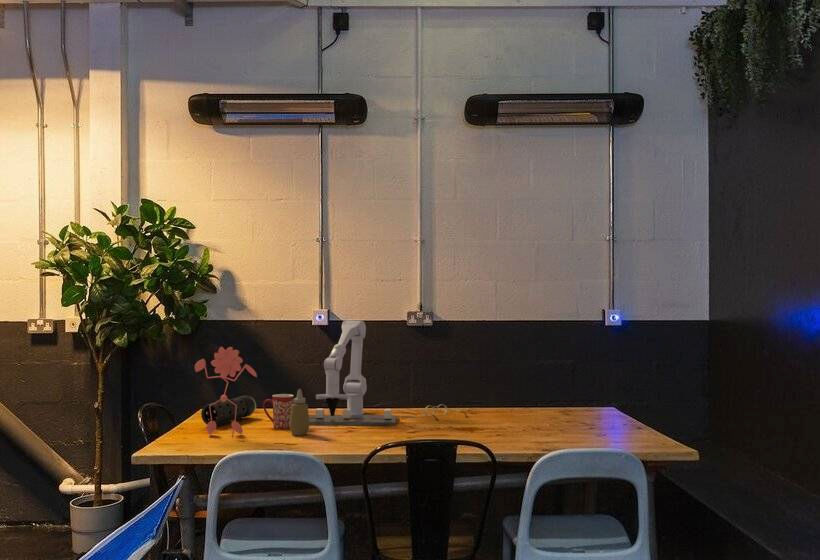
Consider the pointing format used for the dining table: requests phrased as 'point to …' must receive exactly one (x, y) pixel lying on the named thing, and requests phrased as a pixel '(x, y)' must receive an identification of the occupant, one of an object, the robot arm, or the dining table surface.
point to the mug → (280, 410)
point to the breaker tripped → (346, 413)
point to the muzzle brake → (228, 410)
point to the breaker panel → (353, 420)
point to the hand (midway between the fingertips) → (332, 415)
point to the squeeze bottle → (299, 416)
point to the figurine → (225, 365)
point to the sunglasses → (438, 413)
